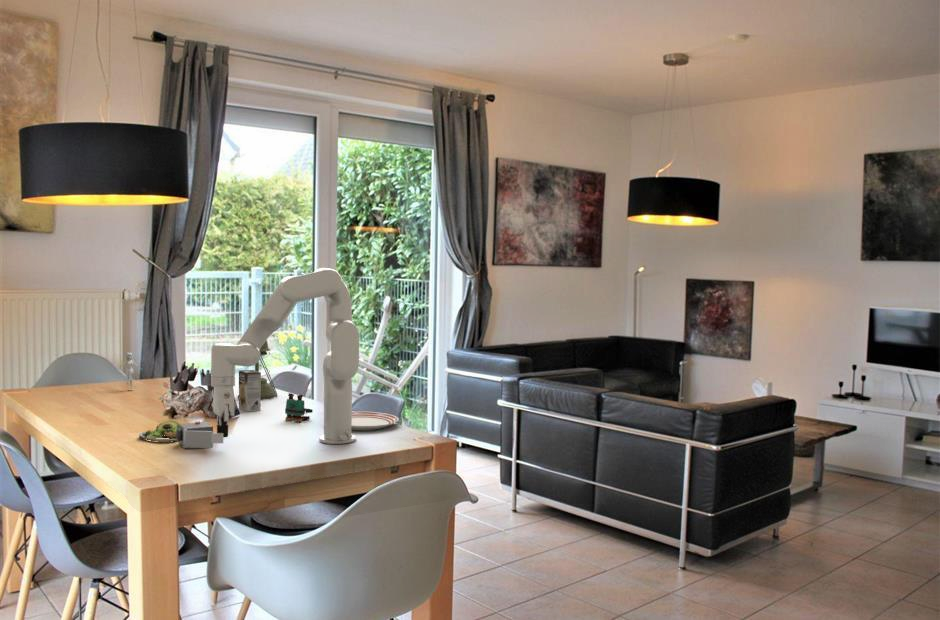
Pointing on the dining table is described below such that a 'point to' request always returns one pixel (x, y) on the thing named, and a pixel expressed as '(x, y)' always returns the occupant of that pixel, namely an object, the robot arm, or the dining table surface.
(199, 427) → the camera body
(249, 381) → the coffee box
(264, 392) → the green desk lamp
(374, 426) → the dinner plate
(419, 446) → the dining table surface
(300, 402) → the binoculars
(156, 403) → the dining table surface
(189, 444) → the side door
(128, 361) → the human figurine
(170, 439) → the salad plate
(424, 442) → the dining table surface
